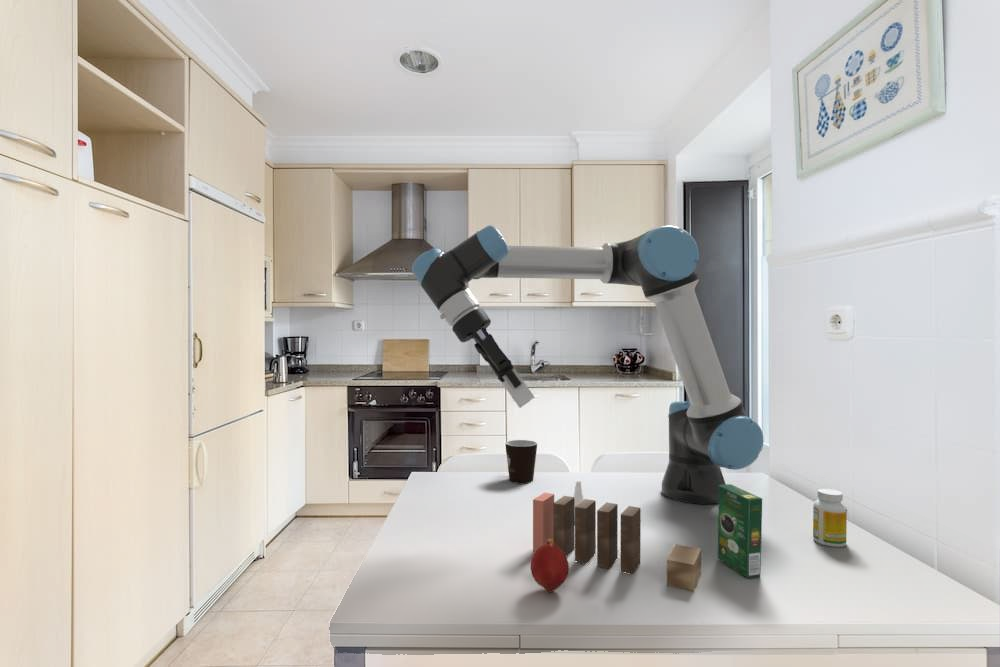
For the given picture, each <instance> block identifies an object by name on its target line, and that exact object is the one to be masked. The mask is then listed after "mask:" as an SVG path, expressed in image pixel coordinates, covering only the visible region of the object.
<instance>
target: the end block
mask: <svg viewBox="0 0 1000 667" xmlns="http://www.w3.org/2000/svg"><path fill="white" fill-rule="evenodd" d="M701 574H702V548H699V547H693V546H688V545H682V544H675V545H674V546H673V548H672V550H671V552H670V554H669V556H667V559H666V586H670V587H675V588H678V589H683V590H688V591H692V592H695V590H696V587H697V585H698V582H699V580H698V579H700V577H701Z"/></svg>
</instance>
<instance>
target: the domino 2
mask: <svg viewBox="0 0 1000 667" xmlns="http://www.w3.org/2000/svg"><path fill="white" fill-rule="evenodd" d="M553 542H554V544H555V545H557V546H558V547H559V548H560V549H561V550H562V551H563V552H564V554H565V555H566V556H567V555H568V554H569V555H570V554H572V553H573V551H575V521H574V497H573V496H568V495H563V496H562V497H560V498H558V499H557V500H556V501H554V503H553ZM569 555H568V556H569ZM568 556H567V557H568Z"/></svg>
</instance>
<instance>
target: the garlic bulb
mask: <svg viewBox="0 0 1000 667" xmlns="http://www.w3.org/2000/svg"><path fill="white" fill-rule="evenodd" d="M573 492H574V493H573V496H572V497H574V522H575V506H576V505H578V504H579V503H580V502H582V501H583V500H584V499H585V498H584V495H583V489H582V481H581V480H576V482H575V486H574V491H573Z"/></svg>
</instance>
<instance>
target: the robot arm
mask: <svg viewBox="0 0 1000 667" xmlns="http://www.w3.org/2000/svg"><path fill="white" fill-rule="evenodd" d="M699 260H700V251H699V247H698V244H697V242H696V240H695V239H694V237H693V236H692V235H691V234H690V232H688V231H687V230H685V229H683V228H681V227H678V226H675V225H663V226H659V227H654V228H652V229H650V230H648V231H646V232H644V233H643V234H640V235H639V236H636V237H635V238H632V239H629V240H626V241H621V242H606V243H604V244H602V246H601V247H600V246H597V247H596V246H594V247H593V246H551V245H549V246H546V245H545V246H544V245H541V246H540V245H508V243H507V242H506V240H505V238H504V236H503V234H502V233H501V232H500V231H499V230H498V229H497V228H496V227H495V226H493V225H487V226H485V227H483V228H482V229H480V230H477V231H476V232H475V233H474V234H472V235H471V236H469V237H468V238H466V239H465V240H463V241H462V242H461V243H459V244H458V245H456V246H455V247H454V248H452V249H450V250H449V251H446V252H445V253H444V251H441V249H440V248H437V247H435V248H430V249H429V250H427V251H424V252H422V253H421V254H420V255H419V256H418V257H416V259H415V260H414V262H413V263H412V266H411V270H412V271H411V272H412V274H413V275H414V277H415V279H416V280H417V281H418V283H419V285H420V286H421V288H422V289H423V291H424V292H425V293H426V295H427V296H428V298H429V299H430V301H431V302H432V303H433V304H434V306H435V307H436V308H437V310H438V311H439V312H440V315H439V318H440V319H441V320H445V321H446V322H447V324H448V326H451V327H452V329H451V330H452V332H453V333H454V334H455V336H456V338H457V339H458V340H459V342H461V343H466V342H467V343H468V342H469V341H470V340H474V342H475V344H473V345H474V348H475V350H476V351H477V352H478V353H479V355H481V357H482V358H483V360H484V361H485V362H486V363H488V365H489V367H490V368H491V369H492V370H493V372H494V374H495V376H496V377H497V379H498V381H500V382H501V383H502V385H503V387H504V388H505V389H506V391H507V392H508V393H509V395H510V398H512V400H513V401H514V402H515V403H516V405H517V406H518V408H519V409H521V408H522V407H524V406H525V405H527V404H528V403H529V402H530V401H531V400H532V399H534V398H535V395H534V394H533V393H532V391H531V389H529V387H528V385H527V384H526V383H525V381H524V380H523V379H522V377H521V376H520V373H518V371H517V370H516V369H515V368H514V365H513V363H512V360H510V359H509V358H508V357H507V356H506V354H505V353H504V351H503V350H502V349H501V348H500V347H499V345H498V342H496V340H495V338H494V336H493V335H492V334H491V333H488V331H487V328H488V327H489V326H490V325H491V323H492V322H491V319H490V317H489V315H488V314H487V313H486V312H485V310H484V309H483V308H482V307H480V303H479V301H478V300H477V298H476V297H475V296H474V294H473V293H472V292H471V290H470V289H469V288H468V287H467V285H466V284H467V283H469V282H471V281H472V280H479V279H483V278H485V279H487V278H488V279H495V278H496V279H497V278H498V279H499V278H500V279H502V278H503V279H555V280H556V279H558V280H559V279H561V280H562V279H563V280H566V279H568V280H574V279H575V280H600V281H601V282H602V284H611V285H612V284H614V285H626V286H635V287H640V288H641V290H642V292H643V295H644V297H645V299H646V300H648V301H650V302H652V303H654V305H655V308H656V310H657V313H658V316H659V319H660V322H661V324H662V328H663V330H664V333H665V336H666V338H667V339H666V340H667V342H668V344H669V346H670V350H671V352H672V355H673V358H674V361H675V365H676V367H677V369H678V372H679V375H680V378H681V381H682V384H683V386H684V389H685V393H686V395H687V398H688V401H673V402H671V403H670V405H669V409H668V410H669V411H668V464H667V467H666V469H665V473H664V475H663V478H662V480H661V493H662V494H663V495H664V496H665V497H667V498H669V499H671V500H675V501H679V502H683V503H690V504H700V505H711V504H718V503H719V485H725V484H726V481H725V478H724V475H723V472H722V470H721V468H725V469H728V470H736V471H737V470H741V469H744V468H747V467H749V466H751V465H752V464H754V462H755V461H756V460H757V459H758V458H759V455H760V453H761V452H762V451H763V446H764V435H763V434H764V433H763V430H762V428H761V426H760V425H759V424H758V423H757V422H756V421H755V420H754V419H753V418H752V417H749V416H747V414H746V411H745V408H744V405H743V403H742V399H741V398H740V397H738V396H736V395H734V394H732V393H731V392H730V389H729V385H728V383H727V381H726V377H725V374H724V371H723V368H722V366H721V363H720V360H719V357H718V354H717V351H716V349H715V346H714V343H713V340H712V337H711V335H710V334H711V333H710V331H709V329H708V326H707V323H706V320H705V317H704V315H703V314H704V313H703V311H702V309H701V306H700V303H699V299H698V296H697V294H696V291H695V288H696V286H697V284H698V283H699V280H700V279H699V276H698V274H697V271H696V268H697V265H698V261H699Z"/></svg>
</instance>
